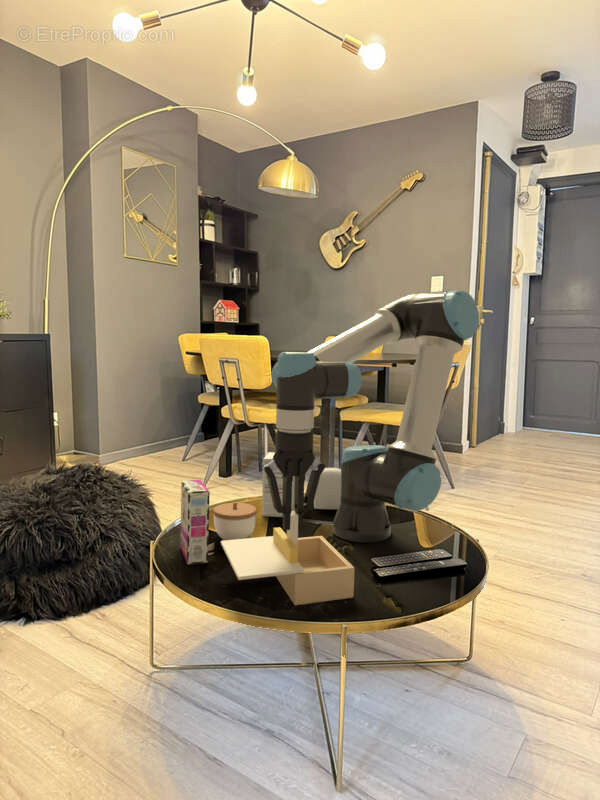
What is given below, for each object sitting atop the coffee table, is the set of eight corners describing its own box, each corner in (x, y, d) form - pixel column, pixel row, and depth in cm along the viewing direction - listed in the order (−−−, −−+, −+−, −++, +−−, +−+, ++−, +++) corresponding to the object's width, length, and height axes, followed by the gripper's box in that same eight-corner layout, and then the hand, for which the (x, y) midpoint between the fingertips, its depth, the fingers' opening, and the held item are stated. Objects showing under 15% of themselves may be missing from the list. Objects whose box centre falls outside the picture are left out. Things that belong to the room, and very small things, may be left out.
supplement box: (266, 506, 161) (267, 451, 160) (297, 508, 160) (298, 453, 159) (261, 516, 152) (262, 458, 150) (293, 518, 151) (294, 459, 149)
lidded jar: (217, 548, 127) (217, 510, 126) (209, 533, 137) (210, 497, 136) (260, 544, 130) (261, 507, 129) (250, 529, 140) (250, 495, 140)
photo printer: (313, 509, 159) (314, 469, 158) (313, 505, 163) (314, 466, 162) (348, 511, 159) (349, 470, 158) (347, 506, 163) (348, 467, 162)
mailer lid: (276, 538, 117) (277, 522, 117) (303, 572, 100) (304, 553, 99) (220, 543, 113) (220, 527, 113) (238, 580, 96) (238, 560, 95)
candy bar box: (209, 563, 118) (210, 491, 117) (187, 565, 117) (187, 492, 115) (200, 545, 129) (201, 478, 127) (179, 547, 127) (180, 480, 125)
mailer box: (320, 561, 121) (321, 535, 120) (353, 597, 104) (354, 567, 103) (269, 567, 117) (270, 540, 116) (294, 605, 100) (295, 574, 99)
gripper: (318, 426, 112) (315, 535, 114) (258, 427, 107) (256, 540, 110) (332, 431, 104) (328, 548, 107) (267, 433, 100) (265, 554, 103)
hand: (292, 544), depth 108 cm, fingers closed
